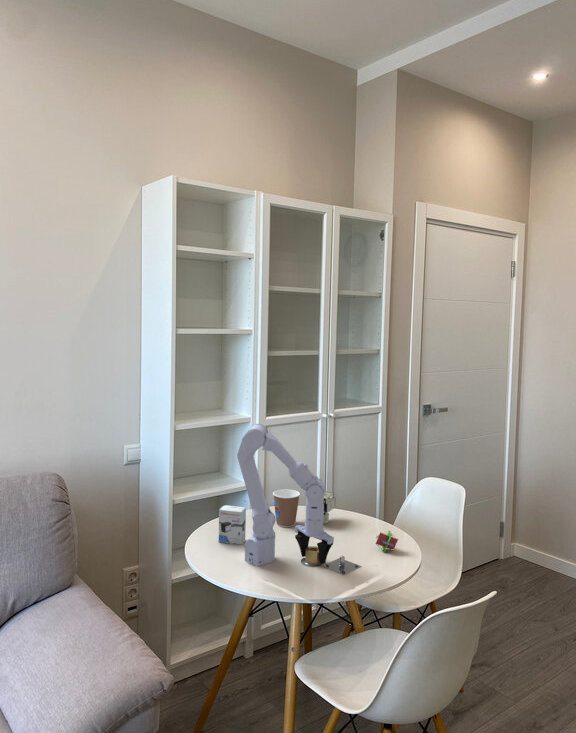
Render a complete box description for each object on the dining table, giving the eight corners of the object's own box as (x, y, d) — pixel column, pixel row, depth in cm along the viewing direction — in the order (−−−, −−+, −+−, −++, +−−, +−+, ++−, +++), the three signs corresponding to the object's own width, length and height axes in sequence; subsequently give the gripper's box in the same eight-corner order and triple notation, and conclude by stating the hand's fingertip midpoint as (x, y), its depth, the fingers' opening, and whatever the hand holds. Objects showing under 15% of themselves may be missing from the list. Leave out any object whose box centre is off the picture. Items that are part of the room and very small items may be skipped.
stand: (314, 572, 187) (314, 559, 186) (295, 564, 192) (295, 552, 192) (330, 564, 193) (331, 552, 192) (312, 557, 198) (312, 545, 198)
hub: (344, 578, 183) (344, 565, 183) (321, 568, 189) (322, 556, 189) (362, 569, 190) (362, 557, 189) (339, 560, 196) (340, 548, 195)
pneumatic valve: (311, 526, 227) (312, 495, 226) (323, 517, 237) (324, 487, 236) (325, 528, 224) (326, 497, 223) (336, 519, 235) (337, 489, 234)
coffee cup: (271, 519, 233) (272, 489, 232) (298, 519, 234) (299, 489, 233) (272, 529, 223) (273, 497, 222) (300, 529, 224) (301, 497, 223)
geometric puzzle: (399, 540, 209) (386, 522, 208) (404, 548, 202) (391, 529, 201) (382, 552, 209) (369, 535, 208) (387, 560, 202) (373, 542, 201)
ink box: (217, 542, 209) (218, 509, 208) (222, 537, 214) (223, 504, 213) (241, 545, 207) (242, 511, 206) (245, 539, 212) (246, 507, 211)
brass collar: (313, 566, 189) (314, 553, 188) (302, 561, 192) (302, 549, 192) (324, 561, 192) (324, 549, 192) (312, 557, 196) (312, 545, 195)
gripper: (340, 520, 189) (339, 562, 190) (306, 509, 199) (304, 549, 200) (325, 526, 184) (324, 569, 185) (291, 514, 194) (290, 555, 195)
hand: (313, 559), depth 192 cm, fingers open, 7 cm apart
